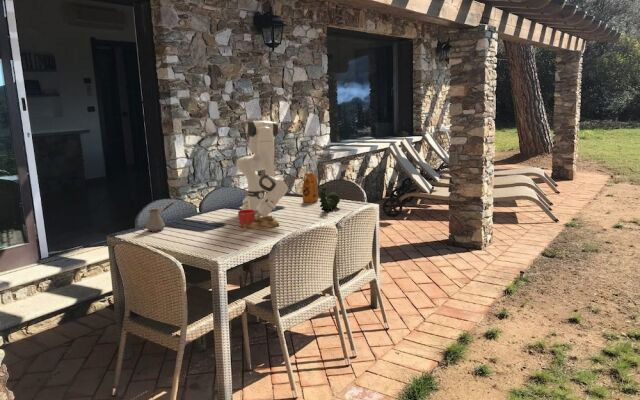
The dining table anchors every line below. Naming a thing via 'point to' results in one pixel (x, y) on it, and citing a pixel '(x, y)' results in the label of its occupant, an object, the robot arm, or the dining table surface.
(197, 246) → the dining table surface
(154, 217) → the coffee pot
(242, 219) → the flower pot
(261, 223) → the brown wooden u-shaped frame
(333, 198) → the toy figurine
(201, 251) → the dining table surface
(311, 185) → the coffee package
